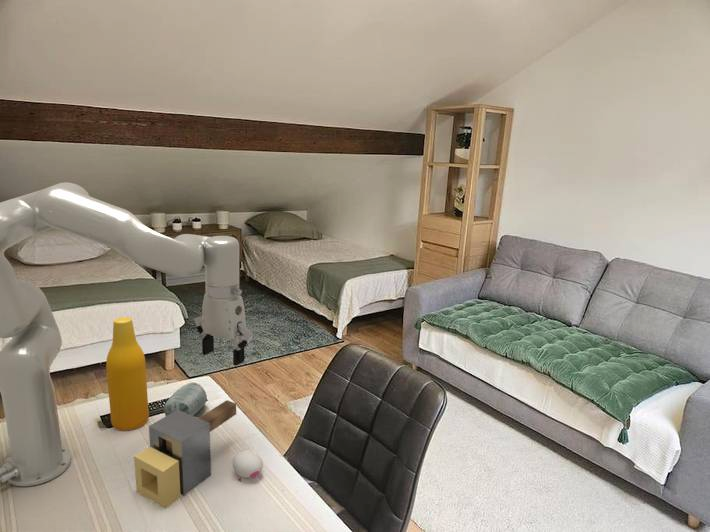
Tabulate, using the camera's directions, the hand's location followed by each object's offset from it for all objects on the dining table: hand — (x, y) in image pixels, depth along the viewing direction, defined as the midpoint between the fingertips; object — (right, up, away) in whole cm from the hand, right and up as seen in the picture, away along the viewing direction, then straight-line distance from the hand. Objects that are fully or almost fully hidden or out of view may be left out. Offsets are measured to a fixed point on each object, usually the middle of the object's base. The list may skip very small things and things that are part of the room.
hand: (223, 358), depth 116 cm
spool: (-15, -19, +18) cm, 30 cm away
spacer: (-11, -27, -11) cm, 32 cm away
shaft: (-4, -17, -2) cm, 17 cm away
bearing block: (-8, -26, -6) cm, 28 cm away
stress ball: (+7, -26, -3) cm, 27 cm away
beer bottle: (-28, -20, +14) cm, 37 cm away
